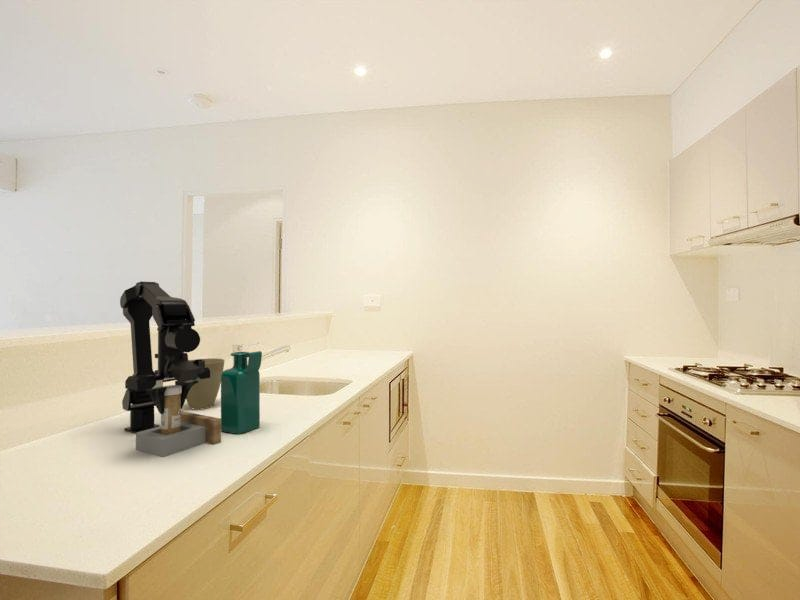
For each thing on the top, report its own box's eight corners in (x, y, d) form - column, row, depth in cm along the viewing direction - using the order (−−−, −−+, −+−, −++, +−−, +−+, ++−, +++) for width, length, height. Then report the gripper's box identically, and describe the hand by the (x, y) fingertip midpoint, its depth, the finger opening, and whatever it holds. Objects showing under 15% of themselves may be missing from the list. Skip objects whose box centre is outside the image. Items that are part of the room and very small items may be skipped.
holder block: (135, 449, 97) (135, 432, 97) (179, 436, 107) (179, 421, 107) (162, 456, 92) (162, 439, 92) (205, 442, 101) (205, 426, 101)
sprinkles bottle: (181, 440, 99) (182, 386, 99) (160, 444, 96) (161, 388, 97) (180, 436, 103) (180, 383, 103) (159, 439, 100) (160, 385, 100)
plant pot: (194, 401, 146) (194, 358, 147) (232, 402, 145) (232, 358, 145) (166, 412, 132) (166, 364, 132) (209, 413, 130) (209, 364, 130)
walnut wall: (170, 434, 108) (170, 412, 109) (178, 432, 110) (178, 410, 110) (213, 444, 100) (213, 420, 100) (220, 442, 102) (220, 418, 102)
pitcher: (217, 431, 110) (217, 352, 111) (240, 423, 118) (240, 349, 119) (244, 435, 107) (244, 353, 107) (266, 426, 114) (266, 350, 115)
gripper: (151, 355, 88) (151, 426, 88) (224, 347, 104) (224, 407, 104) (124, 352, 93) (123, 419, 93) (197, 345, 109) (197, 402, 109)
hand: (170, 411), depth 100 cm, fingers closed on sprinkles bottle, 4 cm apart
